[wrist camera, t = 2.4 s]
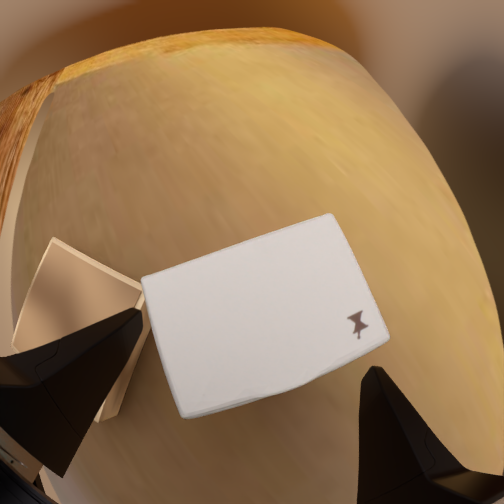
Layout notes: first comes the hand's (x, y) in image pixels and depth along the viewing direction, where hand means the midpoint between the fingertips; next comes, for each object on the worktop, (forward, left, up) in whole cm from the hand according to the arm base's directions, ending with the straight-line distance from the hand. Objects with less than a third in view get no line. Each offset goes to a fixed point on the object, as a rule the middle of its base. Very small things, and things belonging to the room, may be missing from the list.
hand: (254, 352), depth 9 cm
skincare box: (+1, 0, -9) cm, 9 cm away
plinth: (-4, +12, -9) cm, 15 cm away
